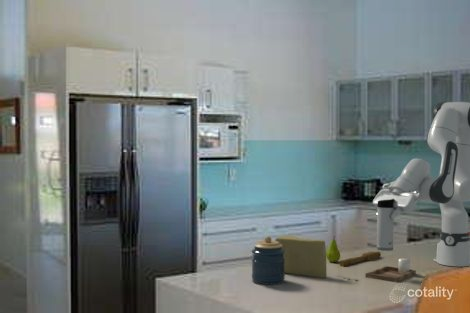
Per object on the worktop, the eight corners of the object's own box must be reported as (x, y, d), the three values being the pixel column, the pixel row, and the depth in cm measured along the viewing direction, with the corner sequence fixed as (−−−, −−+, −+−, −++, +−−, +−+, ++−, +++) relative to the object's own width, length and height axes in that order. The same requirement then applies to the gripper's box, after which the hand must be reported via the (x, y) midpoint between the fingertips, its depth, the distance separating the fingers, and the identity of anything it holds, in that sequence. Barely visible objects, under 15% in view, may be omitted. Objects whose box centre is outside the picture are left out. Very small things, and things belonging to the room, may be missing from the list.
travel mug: (394, 251, 236) (395, 199, 236) (377, 250, 237) (377, 199, 237) (393, 248, 242) (394, 198, 242) (376, 248, 243) (377, 198, 243)
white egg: (401, 272, 247) (401, 257, 247) (411, 273, 244) (411, 259, 244) (396, 274, 244) (396, 259, 243) (406, 275, 241) (406, 260, 241)
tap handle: (338, 259, 266) (376, 250, 287) (338, 266, 266) (376, 256, 287) (344, 260, 264) (382, 251, 285) (344, 267, 264) (382, 257, 285)
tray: (385, 272, 253) (385, 265, 253) (415, 276, 244) (415, 270, 244) (365, 280, 239) (365, 273, 239) (396, 285, 231) (396, 278, 231)
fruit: (323, 262, 274) (323, 235, 274) (331, 260, 279) (331, 233, 279) (335, 264, 270) (335, 237, 270) (343, 261, 275) (343, 235, 274)
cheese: (332, 276, 247) (332, 239, 246) (319, 280, 240) (319, 242, 239) (288, 268, 261) (288, 233, 261) (274, 272, 254) (274, 236, 254)
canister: (288, 278, 242) (288, 234, 242) (280, 286, 230) (279, 239, 229) (257, 276, 246) (257, 233, 246) (247, 283, 234) (247, 238, 234)
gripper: (426, 197, 236) (408, 224, 231) (389, 194, 254) (371, 219, 249) (417, 186, 233) (399, 214, 229) (380, 184, 251) (363, 209, 247)
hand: (384, 217), depth 239 cm, fingers closed on travel mug, 6 cm apart
